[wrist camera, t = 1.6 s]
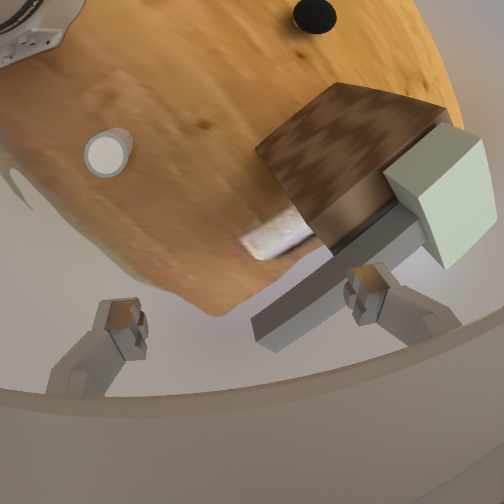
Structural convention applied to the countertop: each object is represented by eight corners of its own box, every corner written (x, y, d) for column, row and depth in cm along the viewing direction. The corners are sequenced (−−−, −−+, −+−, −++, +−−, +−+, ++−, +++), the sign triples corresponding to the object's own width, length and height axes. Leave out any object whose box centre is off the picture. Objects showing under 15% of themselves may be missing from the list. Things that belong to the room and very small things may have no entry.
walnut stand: (291, 187, 52) (359, 286, 30) (255, 147, 47) (310, 229, 25) (366, 126, 47) (475, 185, 25) (336, 82, 42) (452, 110, 20)
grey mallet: (287, 340, 32) (299, 376, 28) (225, 299, 27) (231, 341, 23) (466, 197, 25) (497, 219, 21) (442, 121, 20) (481, 138, 16)
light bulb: (314, 41, 37) (341, 36, 29) (278, 35, 36) (298, 26, 28) (318, 11, 34) (345, 0, 26) (282, 3, 33) (303, -12, 25)
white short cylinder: (90, 142, 41) (75, 154, 35) (120, 115, 39) (108, 122, 34) (114, 171, 44) (103, 187, 39) (145, 146, 43) (137, 158, 37)
